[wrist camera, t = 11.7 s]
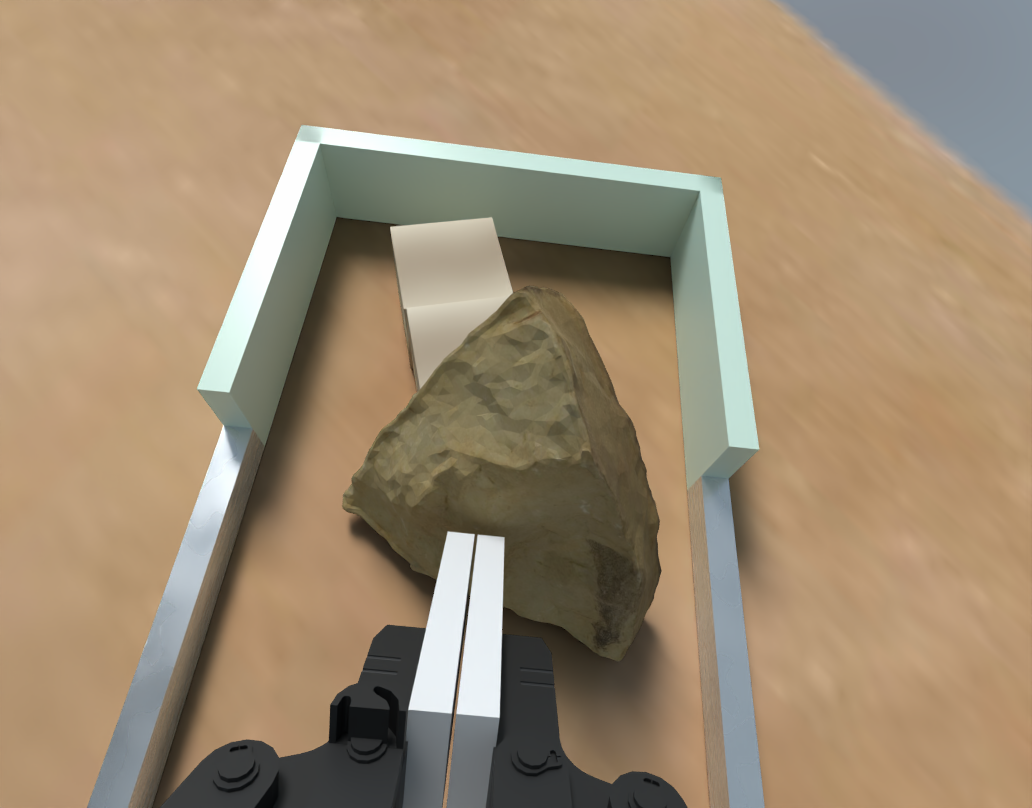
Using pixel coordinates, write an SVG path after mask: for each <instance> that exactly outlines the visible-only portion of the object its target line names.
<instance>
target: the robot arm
mask: <svg viewBox="0 0 1032 808" xmlns="http://www.w3.org/2000/svg"><path fill="white" fill-rule="evenodd" d="M474 536H475V534H467V533H457V532H448V533H447V537H446V542H445V546H444V551H443V555H442V560H441V564H440V569H439V573H438V578H437V582H436V587H435V591H434V596H433V600H432V605H431V609H430V614H429V618H428V623H427V627H426V628H416V627H406V626H395V625H387V626H385V627H384V628H383V629H382V630H381V631H380V632H379V633H378V634H377V635H376V636H375V637H374V638H373V641H372V644H371V647H370V649H369V652H368V656H367V658H366V661H365V664H364V667H363V671H362V672H361V675H360V678H359V681H358V683H357V684H354V685H351V686H348V687H347V688H345V689H344V690H343V691H341V692H340V693H338V694H337V695H336V697H335V699H334V700H333V702H332V703H331V705H330V728H329V741H328V742H327V743H326V744H324V745H322V746H320V747H318V748H316V749H314V750H312V751H308V752H305V753H301V754H297V755H291V756H286V757H281V758H279V757H278V755H277V754H276V752H275V750H274V749H273V747H271V746H269V745H267V744H266V743H264V742H262V741H255V740H242V741H236V742H231V743H229V744H227V745H224V746H222V747H220V748H218V749H216V750H214V751H213V752H212V753H211V754H210V755H208V756H207V757H206V758H205V759H204V760H202V761H201V762H200V764H199V765H198V766H197V767H196V768H195V769H194V770H193V771H192V772H191V774H190V775H189V776H188V777H187V778H186V779H185V780H184V781H183V782H182V784H181V785H180V786H179V787H178V788H177V789H176V790H175V791H174V792H173V794H172V795H171V796H170V797H169V798H168V799H167V800H166V801H165V802H164V804H163V805H162V806H161V807H160V808H442V806H443V798H444V790H445V782H446V774H447V766H448V758H449V750H450V742H451V734H452V726H453V717H454V709H455V701H456V693H457V685H458V677H459V669H460V661H461V653H462V645H463V636H464V628H465V620H466V611H467V602H468V592H469V583H470V573H471V564H472V554H473V545H474ZM504 538H505V537H497V536H487V535H478V536H477V545H476V553H475V562H474V570H473V579H472V587H471V596H470V604H469V613H468V621H467V629H466V638H465V646H464V655H463V663H462V672H461V680H460V689H459V697H458V706H457V714H456V724H455V733H454V742H453V752H452V761H451V771H450V780H449V789H448V799H447V808H687V806H686V804H685V802H684V800H683V799H682V798H681V796H680V795H679V794H678V792H677V791H676V790H675V789H674V787H672V786H671V785H670V784H668V783H667V782H666V781H664V780H663V779H662V778H660V777H657V776H655V775H652V774H649V773H647V772H629V773H626V774H624V775H621V776H620V777H619V778H618V779H617V780H616V781H615V782H614V783H613V784H610V783H607V782H605V781H602V780H599V779H597V778H594V777H592V776H590V775H588V774H586V773H584V772H582V771H581V770H580V769H578V768H577V767H576V766H575V765H573V763H572V762H571V761H570V760H569V759H568V758H567V757H566V755H565V753H564V751H563V749H562V747H561V743H560V739H559V728H558V717H557V707H556V696H555V688H554V675H553V664H552V653H551V652H550V650H549V649H548V647H547V646H546V644H545V643H544V641H543V640H542V638H538V637H528V636H517V635H506V634H502V611H503V575H504Z"/></svg>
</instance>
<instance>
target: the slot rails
mask: <svg viewBox="0 0 1032 808" xmlns="http://www.w3.org/2000/svg"><path fill="white" fill-rule="evenodd" d="M264 447H265V446H264V445H263V443H262V442H261V440H260V439H259V437H258V436H257V434H256V433H255V431H254V430H253V429H252V428H243V427H233V426H223V429H222V432H221V435H220V438H219V440H218V443H217V446H216V449H215V452H214V454H213V457H212V460H211V463H210V466H209V468H208V471H207V474H206V477H205V479H204V482H203V485H202V488H201V491H200V493H199V496H198V499H197V502H196V505H195V507H194V510H193V513H192V516H191V519H190V521H189V524H188V527H187V530H186V533H185V535H184V538H183V541H182V544H181V547H180V549H179V552H178V555H177V558H176V561H175V563H174V566H173V569H172V572H171V575H170V577H169V580H168V583H167V586H166V588H165V591H164V594H163V597H162V600H161V602H160V605H159V608H158V611H157V614H156V616H155V619H154V622H153V625H152V628H151V630H150V633H149V636H148V639H147V642H146V644H145V647H144V650H143V653H142V656H141V658H140V661H139V664H138V667H137V670H136V672H135V675H134V678H133V681H132V684H131V686H130V689H129V692H128V695H127V697H126V700H125V703H124V706H123V709H122V711H121V714H120V717H119V720H118V723H117V725H116V728H115V731H114V734H113V737H112V739H111V742H110V745H109V748H108V751H107V753H106V756H105V759H104V762H103V765H102V767H101V770H100V773H99V776H98V779H97V781H96V784H95V787H94V790H93V793H92V795H91V798H90V801H89V804H88V806H87V808H152V805H153V802H154V799H155V795H156V792H157V789H158V786H159V783H160V779H161V776H162V773H163V770H164V767H165V764H166V760H167V757H168V754H169V751H170V748H171V744H172V741H173V738H174V735H175V732H176V728H177V725H178V722H179V719H180V716H181V712H182V709H183V706H184V703H185V700H186V696H187V693H188V690H189V687H190V684H191V681H192V677H193V674H194V671H195V668H196V665H197V661H198V658H199V655H200V652H201V649H202V645H203V642H204V639H205V636H206V633H207V629H208V626H209V623H210V620H211V617H212V613H213V610H214V607H215V604H216V601H217V598H218V594H219V591H220V588H221V585H222V582H223V578H224V575H225V572H226V569H227V566H228V562H229V559H230V556H231V553H232V550H233V546H234V543H235V540H236V537H237V534H238V530H239V527H240V524H241V521H242V518H243V515H244V511H245V508H246V505H247V502H248V499H249V495H250V492H251V489H252V486H253V483H254V479H255V476H256V473H257V470H258V467H259V463H260V460H261V457H262V454H263V451H264ZM687 494H688V508H689V522H690V536H691V550H692V564H693V577H694V591H695V605H696V619H697V633H698V647H699V661H700V674H701V688H702V702H703V716H704V730H705V744H706V758H707V771H708V785H709V799H710V808H765V807H764V798H763V789H762V780H761V771H760V762H759V752H758V743H757V734H756V725H755V716H754V707H753V698H752V689H751V680H750V670H749V661H748V652H747V643H746V634H745V625H744V616H743V607H742V598H741V588H740V579H739V570H738V561H737V552H736V543H735V534H734V525H733V516H732V506H731V497H730V488H729V479H727V478H718V477H708V476H701V477H700V478H699V479H698V480H697V481H696V482H695V483H694V484H693V485H692V486H691V487H690V488H689V489H688V490H687Z"/></svg>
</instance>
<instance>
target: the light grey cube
mask: <svg viewBox="0 0 1032 808" xmlns="http://www.w3.org/2000/svg"><path fill="white" fill-rule="evenodd" d="M508 297H509V296H502V297H494V298H486V299H477V300H469V301H460V302H452V303H443V304H435V305H426V306H418V307H410V308H406V309H407V317H408V326H409V335H410V344H411V352H412V361H413V369H414V375H415V381H416V387H417V392H418V391H419V390H420V388H421V387H422V386H423V385H424V384H425V383H426V381H427V380H428V378H429V377H430V376H431V374H432V373H433V372H434V370H435V369H436V368H437V367H438V366H439V365H440V363H441V362H442V361H443V359H444V358H445V357H446V356H448V355H449V354H450V353H451V352H452V351H453V350H455V349H456V348H457V347H459V346H460V345H461V344H462V342H463V341H464V339H465V338H466V336H467V335H468V334H469V333H470V332H471V331H472V330H474V329H475V328H476V327H477V326H479V325H480V324H481V323H483V322H484V321H485V320H487V319H488V318H489V317H490V316H491V315H492V314H493V313H494V312H496V311H497V310H498V308H499V307H500V306H501V305H502V304H503V303H504V301H505V300H506V299H507V298H508Z"/></svg>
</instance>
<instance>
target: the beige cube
mask: <svg viewBox="0 0 1032 808" xmlns="http://www.w3.org/2000/svg"><path fill="white" fill-rule="evenodd" d="M390 231H391V238H392V246H393V254H394V262H395V270H396V278H397V285H398V293H399V299H400V305H401V311H402V318H403V324H404V330H405V336H406V342H407V348H408V354H409V360H410V366H411V368H413V361H412V352H411V344H410V335H409V326H408V317H407V309H406V308H410V307H418V306H426V305H435V304H443V303H452V302H460V301H469V300H477V299H486V298H494V297H502V296H510V295H511V294H512V293H513V291H512V287H511V284H510V280H509V277H508V273H507V269H506V266H505V262H504V259H503V255H502V251H501V248H500V244H499V241H498V237H497V233H496V230H495V226H494V223H493V219H492V217H490V218H480V219H469V220H458V221H447V222H437V223H426V224H415V225H405V226H394V227H390Z"/></svg>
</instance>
